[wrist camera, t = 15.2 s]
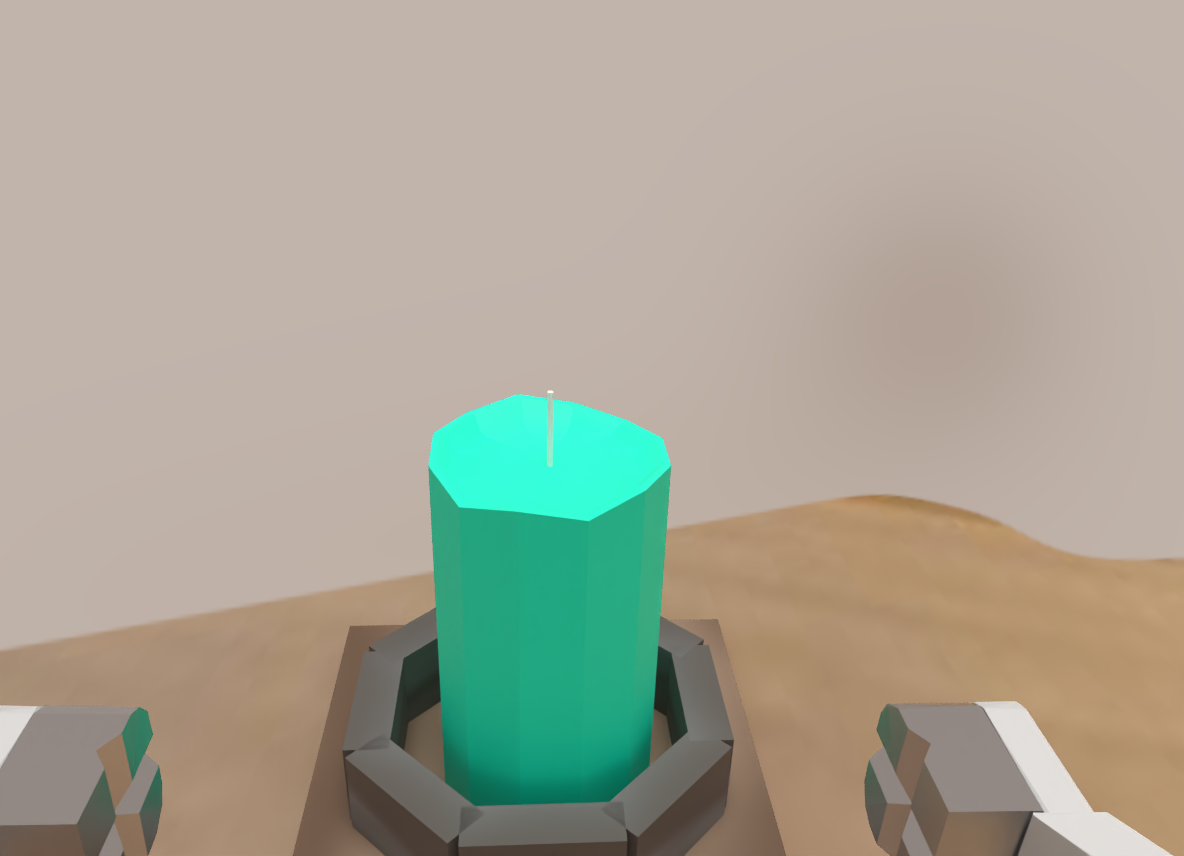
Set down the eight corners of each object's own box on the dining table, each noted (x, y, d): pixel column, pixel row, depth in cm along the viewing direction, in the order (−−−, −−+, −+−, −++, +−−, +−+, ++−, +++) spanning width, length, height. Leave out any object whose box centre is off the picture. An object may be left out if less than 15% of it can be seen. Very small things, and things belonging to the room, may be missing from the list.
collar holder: (268, 1003, 23) (249, 902, 22) (352, 648, 35) (344, 566, 33) (808, 979, 24) (828, 881, 23) (715, 641, 36) (723, 560, 34)
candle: (426, 717, 30) (404, 358, 25) (608, 679, 32) (624, 336, 27) (468, 875, 25) (451, 466, 20) (682, 819, 27) (718, 430, 22)
